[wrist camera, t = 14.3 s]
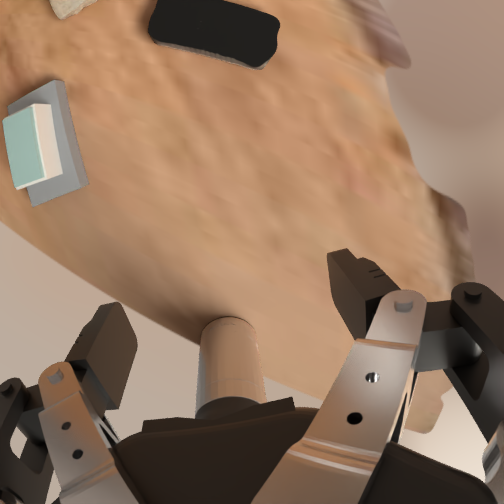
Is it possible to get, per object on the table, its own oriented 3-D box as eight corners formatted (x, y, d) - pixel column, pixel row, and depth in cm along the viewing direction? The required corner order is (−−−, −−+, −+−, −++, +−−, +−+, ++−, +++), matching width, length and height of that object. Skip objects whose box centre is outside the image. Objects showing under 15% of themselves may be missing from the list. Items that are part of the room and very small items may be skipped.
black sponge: (148, 45, 35) (141, 39, 32) (170, -6, 32) (166, -16, 29) (263, 76, 38) (266, 72, 35) (283, 25, 36) (288, 17, 32)
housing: (50, 104, 34) (31, 103, 29) (62, 173, 37) (44, 180, 33) (20, 117, 33) (0, 118, 29) (32, 183, 37) (13, 191, 32)
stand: (89, 183, 41) (80, 188, 38) (42, 202, 41) (32, 207, 38) (64, 81, 35) (54, 79, 32) (18, 106, 35) (7, 106, 32)
